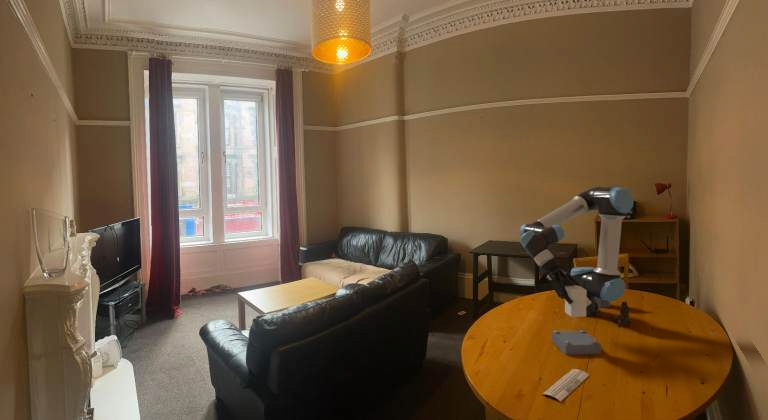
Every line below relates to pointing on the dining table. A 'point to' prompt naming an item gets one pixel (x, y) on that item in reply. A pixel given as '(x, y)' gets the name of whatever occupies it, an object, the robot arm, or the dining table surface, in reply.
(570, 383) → the newspaper
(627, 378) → the dining table surface
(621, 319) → the dark figurine
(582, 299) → the tower brick
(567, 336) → the base plate
